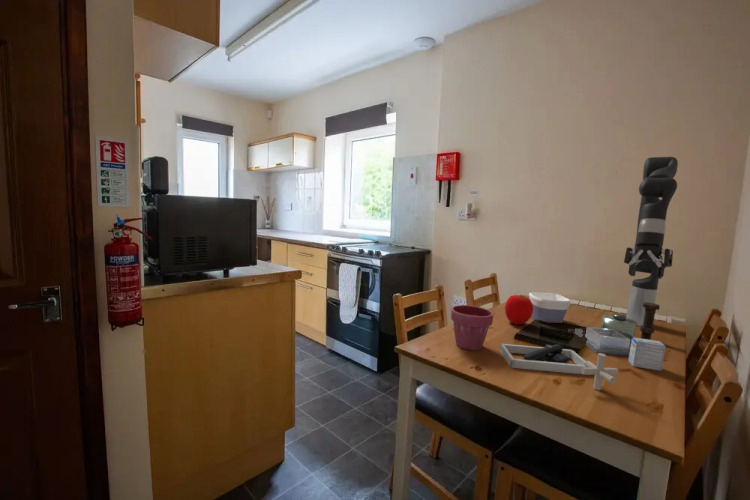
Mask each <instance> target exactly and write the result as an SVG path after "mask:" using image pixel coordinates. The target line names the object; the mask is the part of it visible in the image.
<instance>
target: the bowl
mask: <svg viewBox="0 0 750 500" xmlns="http://www.w3.org/2000/svg"><path fill="white" fill-rule="evenodd" d="M528 297H529V299H530V300H531V302H532V304H533V314H532V316H531V318H532V319H534V320H535V321H537V319H538V320H543V321H553V322H561V324H562V323H563V321H564V319H565V316H566V314H567V312H568V310H569V307H570V305H571V301H570V299H569V298H567V297H565V296H563V295H560V294H557V293H551V292H539V291H537V292H536V291H532V292H529V294H528Z"/></svg>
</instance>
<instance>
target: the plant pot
mask: <svg viewBox="0 0 750 500" xmlns="http://www.w3.org/2000/svg"><path fill="white" fill-rule="evenodd" d="M450 319H451V320H452V323H453V332H454V333H453V334H454V339H455V344H456V346H458V347H460V348H462V349H465V350H468V351H469V350H470V351H479V350H481V349H482V348H483V346H484V343H485V340H486V337H487V334H488V332H489V328H490V326H492V325H493V322H494V321H493V320H494V313H493V311H491V310H490V309H487V308H484V307H481V306H480V307H479V306H476V305H470V304H469V305H467V304H460V305H459V304H458V305H454V306H452V307H451V312H450Z"/></svg>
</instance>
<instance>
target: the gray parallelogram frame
mask: <svg viewBox="0 0 750 500" xmlns="http://www.w3.org/2000/svg"><path fill="white" fill-rule="evenodd" d="M544 347H545V346H543V347H542V346H531V345H520V344H509V343H500V344H499V352H500V354H501V355H502V357H503V359H504V360H505V361H506V362H507V364H508V365H509V366H510V368H512V369H523V370H530V371H531V370H532V371H533V370H534V371H544V372H554V373H555V372H557V373H566V374H575V375H576V374H577V375H583V374H582V373H581V371H580V369H581V368H587V367H586V366H585V365H584V363H585V361H586V360H585V359H584V358H583V357H581V356H580V355H579V354H578V353H576V351H574V350H573V349H566V348H563V350H562V352H561V353H563V354H565V355H566V356H567V357H569V360H571V361H573V362H574V364H573V363H567V362H566V363H555V362H550V361H533V360H525V359H518V358H514V357H513V355H512V354H523V355H526V354H528V353H530V352H533V351H535V350H538V349H541V348H544ZM511 353H512V354H511ZM585 375H586V376H589V375H588V374H585Z"/></svg>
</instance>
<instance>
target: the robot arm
mask: <svg viewBox="0 0 750 500" xmlns="http://www.w3.org/2000/svg"><path fill="white" fill-rule="evenodd" d="M678 162H679V161H678V158H677V157H675V156H659V157H658V156H655V157H653V156H652V157H647V158H646V159H645V161H644V164H643V169H642V171H643V172H642V173H643V174H642V181H641V182H640V184H639V186H638V193H639V195H640V196H641V198H640V204H639V210H638V218H637V227H636V238H635V242H634V243H635V244H634V248H632V247H626V251H625V255H624V260H623V263H625V264H628V265H629V267H628V275H629V276H630V277H631V276H632V277H635V276H636V273H637V272H638V273H645V274H650V275H649V276H647V277H642V278H637V279H636V278H635V279H633V281H632V283H631V290H630V297H629V300H628V303H627V307H626V315H625V316H626V318H629V319H631V320H634V321H636V322H637V323H636V326H638V327H640V326H641V325H643V322H644V314H645V307H643V303H644V302H649V303H655V304H656V298H657V292H658V286H659V280H661V279H662V278H663V277H664V274H665V269H666V268H668V267H669V268H671V267H672V266H673V259H674V258H673V255H674V251H673V249H670V248H665V249H663V246H664V243H665V241H664V240H665V233H666V228H667V227H666V220H667V215H668V214H667V213H668V208H669V206H670V205H669V204H670V202H671V200H672V199H673V196H674V195H675V193H676V191H677V188H678V182H677V180H676V179H675V177H676V174H677V171H678V165H679V164H678ZM660 198H661V199H660ZM662 254H663V255H662ZM663 257H664V258H663Z"/></svg>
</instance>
